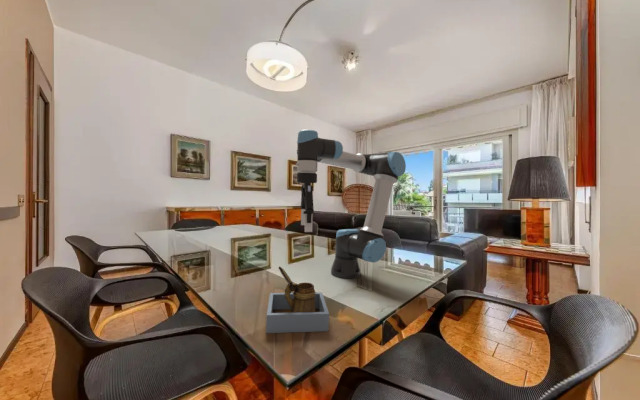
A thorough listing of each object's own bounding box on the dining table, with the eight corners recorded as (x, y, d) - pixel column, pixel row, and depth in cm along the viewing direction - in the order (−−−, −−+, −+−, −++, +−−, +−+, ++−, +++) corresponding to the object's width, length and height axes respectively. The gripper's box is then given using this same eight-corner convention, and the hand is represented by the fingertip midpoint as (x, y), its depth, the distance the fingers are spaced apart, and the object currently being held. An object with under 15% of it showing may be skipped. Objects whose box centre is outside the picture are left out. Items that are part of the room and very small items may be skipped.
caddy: (321, 306, 92) (322, 292, 92) (328, 331, 77) (329, 313, 77) (269, 307, 90) (270, 293, 89) (266, 333, 75) (266, 315, 74)
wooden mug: (275, 313, 86) (277, 262, 85) (314, 310, 89) (316, 261, 88) (277, 327, 78) (279, 271, 77) (319, 324, 81) (321, 269, 80)
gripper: (294, 173, 105) (294, 222, 107) (300, 171, 81) (299, 235, 83) (312, 173, 107) (311, 222, 108) (322, 171, 82) (321, 235, 84)
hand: (306, 228), depth 95 cm, fingers open, 13 cm apart
